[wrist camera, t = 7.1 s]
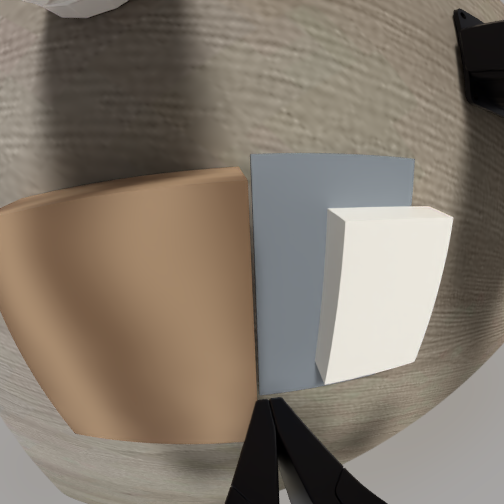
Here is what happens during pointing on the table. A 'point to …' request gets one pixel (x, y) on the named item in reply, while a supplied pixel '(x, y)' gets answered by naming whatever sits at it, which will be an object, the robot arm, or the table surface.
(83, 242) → the tan beveled block
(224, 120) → the table surface
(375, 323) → the white sticky note pad
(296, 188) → the mat
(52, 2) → the white cup
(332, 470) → the robot arm
